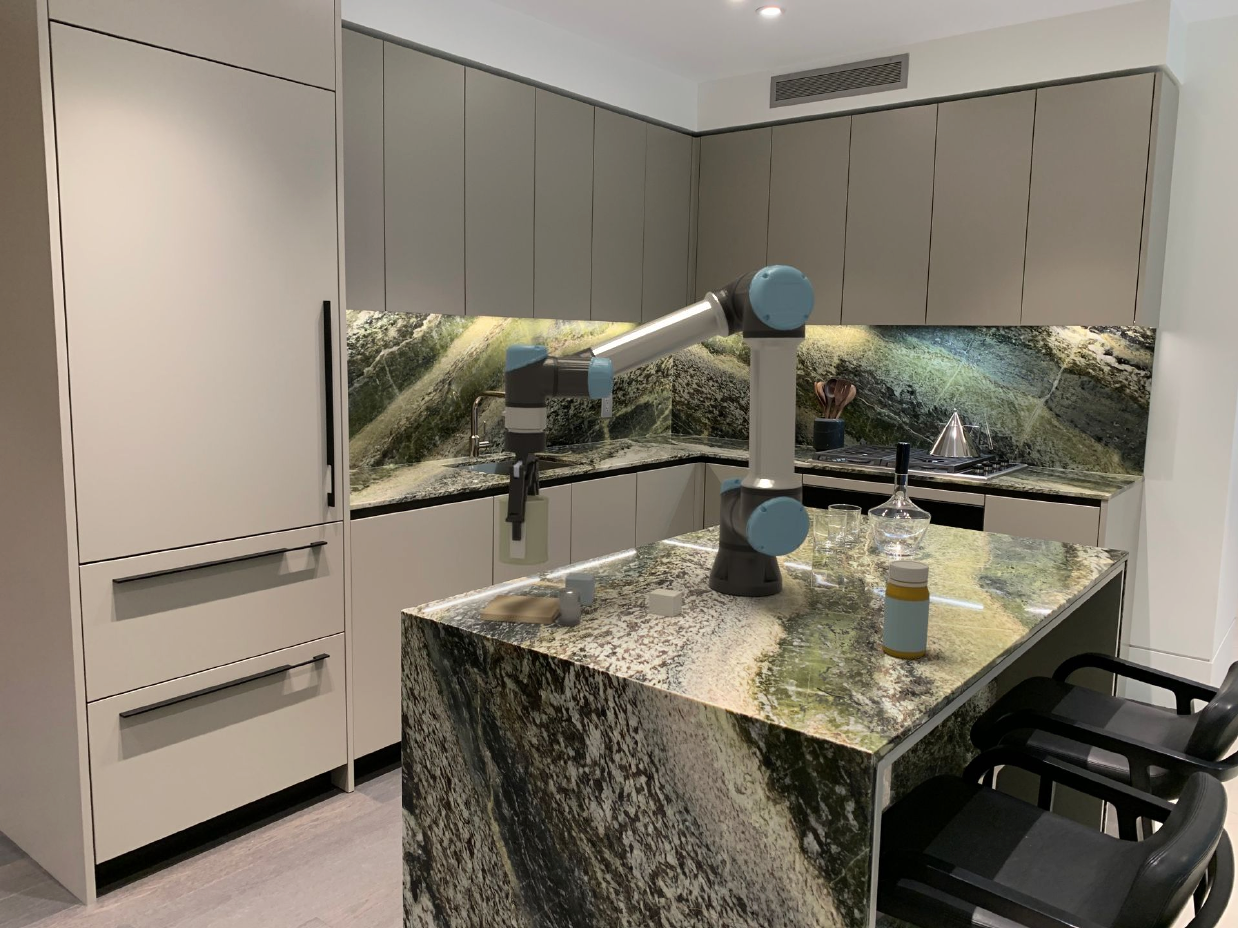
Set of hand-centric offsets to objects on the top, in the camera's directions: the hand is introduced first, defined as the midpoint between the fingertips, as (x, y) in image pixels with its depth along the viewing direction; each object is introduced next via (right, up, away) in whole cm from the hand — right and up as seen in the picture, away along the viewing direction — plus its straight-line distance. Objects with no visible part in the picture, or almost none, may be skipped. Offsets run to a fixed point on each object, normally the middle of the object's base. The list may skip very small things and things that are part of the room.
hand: (523, 551), depth 177 cm
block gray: (+10, -11, +10) cm, 18 cm away
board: (0, -11, +2) cm, 11 cm away
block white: (+26, -12, +3) cm, 29 cm away
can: (0, -2, 0) cm, 2 cm away
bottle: (+65, -15, -17) cm, 69 cm away
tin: (+9, -12, -5) cm, 16 cm away
